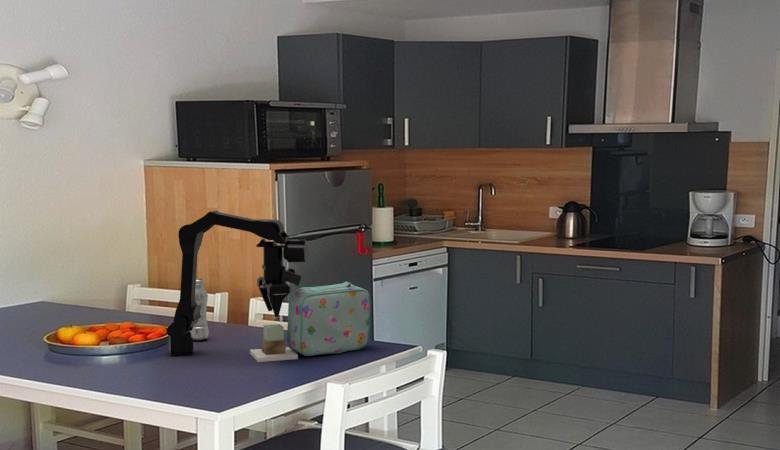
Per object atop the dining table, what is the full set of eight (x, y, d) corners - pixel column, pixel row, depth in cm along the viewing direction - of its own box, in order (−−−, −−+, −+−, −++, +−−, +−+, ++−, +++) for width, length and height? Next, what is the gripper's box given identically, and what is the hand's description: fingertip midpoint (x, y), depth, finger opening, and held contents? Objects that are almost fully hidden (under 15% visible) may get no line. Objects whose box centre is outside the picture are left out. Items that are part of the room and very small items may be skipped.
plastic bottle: (206, 342, 298) (205, 280, 296) (185, 342, 298) (184, 280, 296) (210, 338, 304) (210, 278, 302) (190, 337, 304) (189, 277, 303)
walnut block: (265, 355, 274) (265, 341, 274) (261, 350, 280) (261, 337, 279) (285, 353, 276) (285, 340, 276) (281, 349, 282) (281, 336, 281)
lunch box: (356, 343, 297) (356, 277, 295) (374, 349, 289) (375, 281, 287) (284, 354, 281) (283, 284, 280) (301, 360, 273) (301, 288, 271)
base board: (258, 362, 270) (258, 358, 270) (249, 353, 282) (249, 349, 282) (297, 359, 274) (297, 355, 274) (288, 350, 286) (288, 346, 286)
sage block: (267, 341, 274) (267, 328, 274) (263, 338, 279) (263, 325, 279) (283, 340, 276) (283, 327, 276) (279, 337, 281) (279, 324, 281)
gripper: (307, 264, 270) (307, 317, 271) (291, 257, 287) (292, 307, 288) (269, 266, 266) (270, 319, 267) (256, 258, 283) (256, 309, 285)
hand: (273, 313), depth 277 cm, fingers open, 9 cm apart
